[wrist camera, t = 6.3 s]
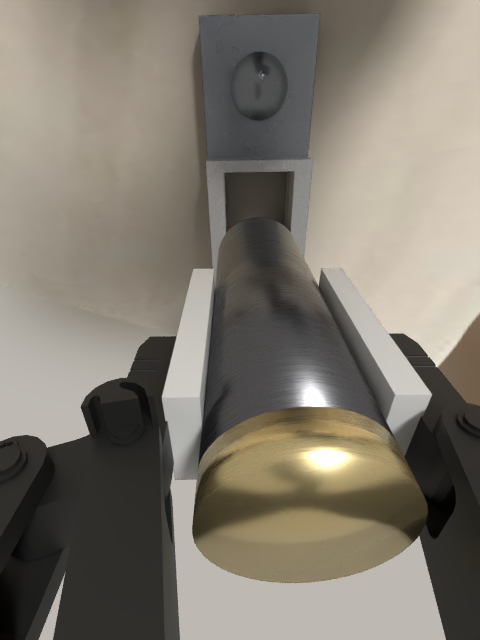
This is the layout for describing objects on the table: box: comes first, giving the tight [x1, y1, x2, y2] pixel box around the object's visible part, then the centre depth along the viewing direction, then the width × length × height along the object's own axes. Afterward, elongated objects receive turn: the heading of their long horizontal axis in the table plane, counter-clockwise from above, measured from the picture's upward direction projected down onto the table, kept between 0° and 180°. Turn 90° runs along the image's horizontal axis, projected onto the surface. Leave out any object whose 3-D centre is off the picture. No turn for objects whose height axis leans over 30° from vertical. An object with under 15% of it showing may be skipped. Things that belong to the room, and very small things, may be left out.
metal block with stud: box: [199, 14, 320, 282], centre depth 27 cm, size 21×8×5 cm, turn 1°
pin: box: [192, 217, 428, 583], centre depth 11 cm, size 4×4×13 cm
